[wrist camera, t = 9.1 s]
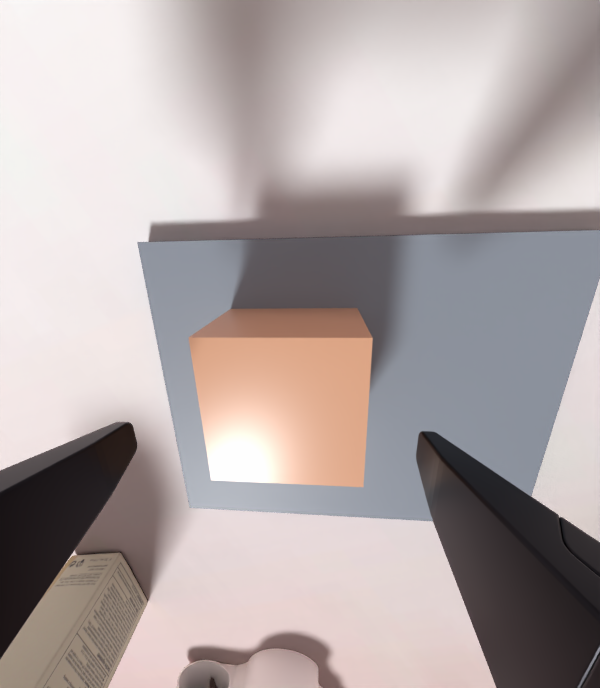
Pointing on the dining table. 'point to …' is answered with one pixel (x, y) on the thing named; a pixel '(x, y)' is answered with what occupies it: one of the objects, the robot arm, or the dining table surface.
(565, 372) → the base plate
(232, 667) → the white egg tray
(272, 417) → the orange block
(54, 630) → the skincare box
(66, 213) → the dining table surface
